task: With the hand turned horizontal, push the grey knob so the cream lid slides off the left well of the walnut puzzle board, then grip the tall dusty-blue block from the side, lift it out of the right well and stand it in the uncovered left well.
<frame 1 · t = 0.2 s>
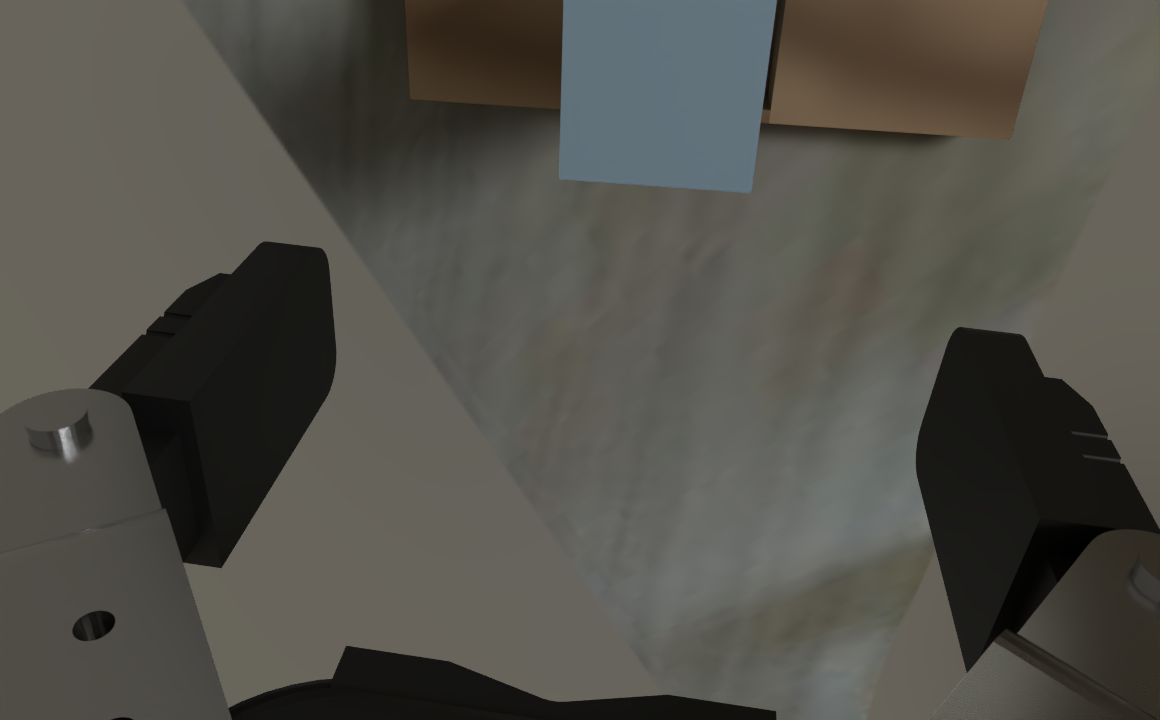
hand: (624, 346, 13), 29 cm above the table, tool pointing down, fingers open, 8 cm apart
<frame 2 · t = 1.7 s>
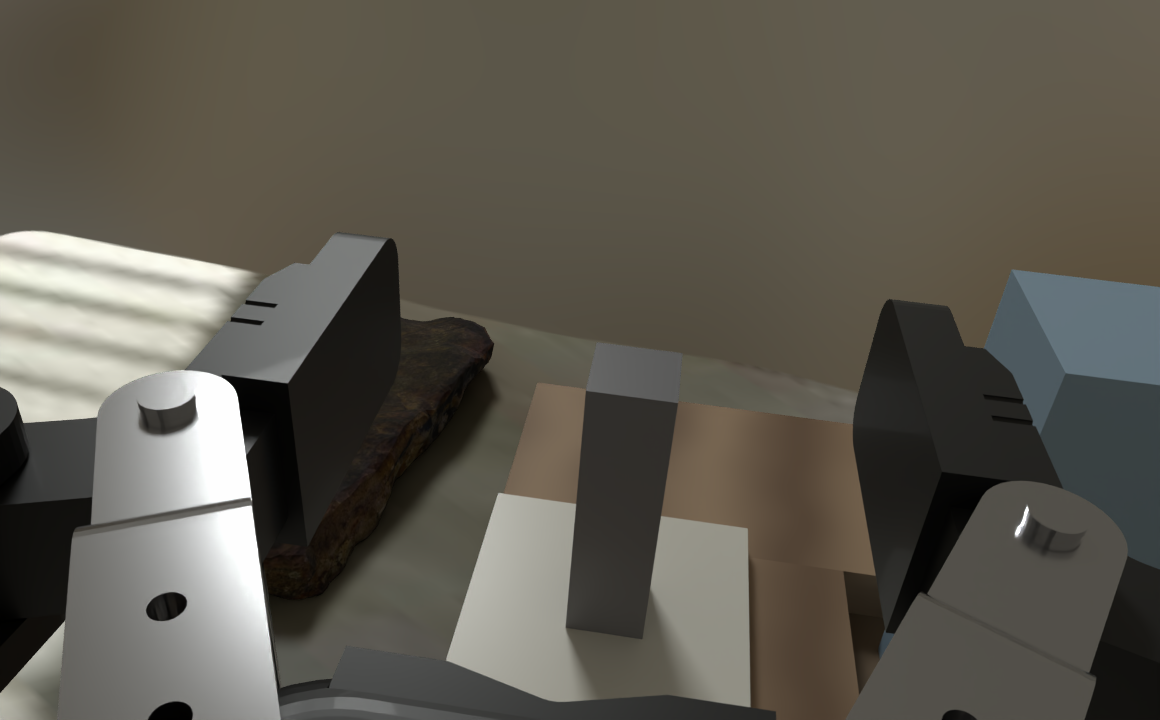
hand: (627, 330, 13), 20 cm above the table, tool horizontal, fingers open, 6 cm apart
lid: (619, 508, 29), point 8 cm above the table, slide at 0.0 cm
board: (776, 665, 34), on the table
stone: (311, 453, 42), on the table
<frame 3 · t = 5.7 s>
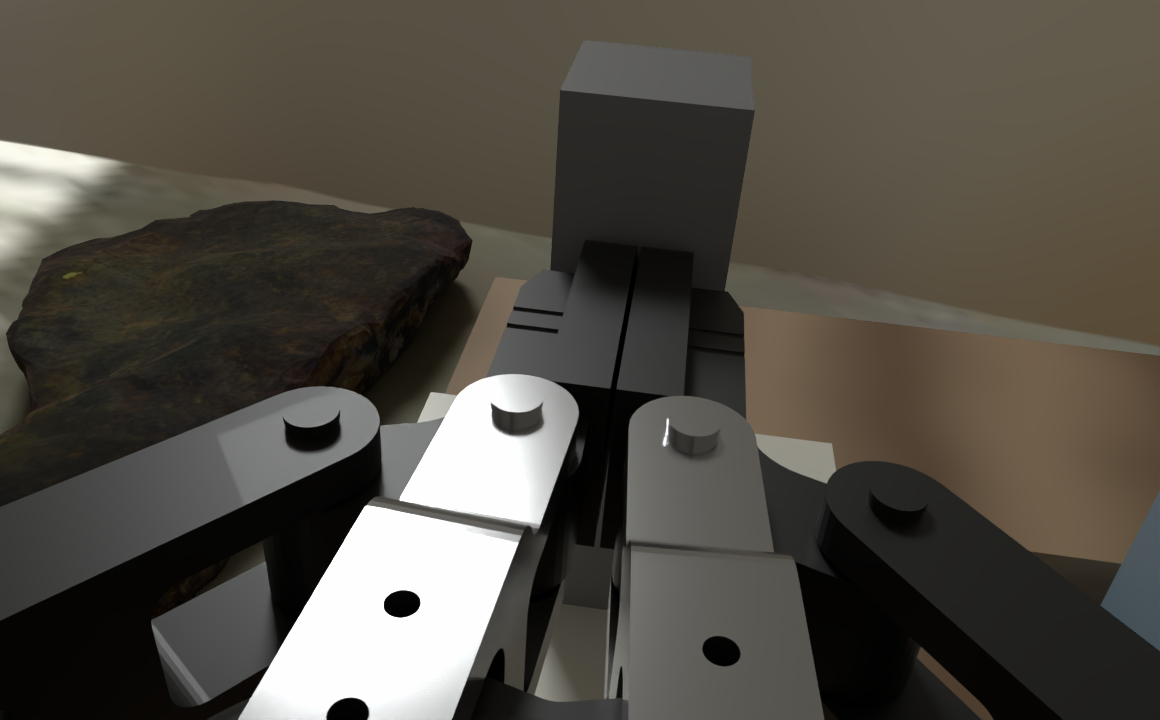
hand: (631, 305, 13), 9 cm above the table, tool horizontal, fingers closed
lid: (628, 376, 16), point 7 cm above the table, slide at 1.2 cm, touching gripper
board: (890, 710, 20), on the table
stone: (196, 395, 28), on the table
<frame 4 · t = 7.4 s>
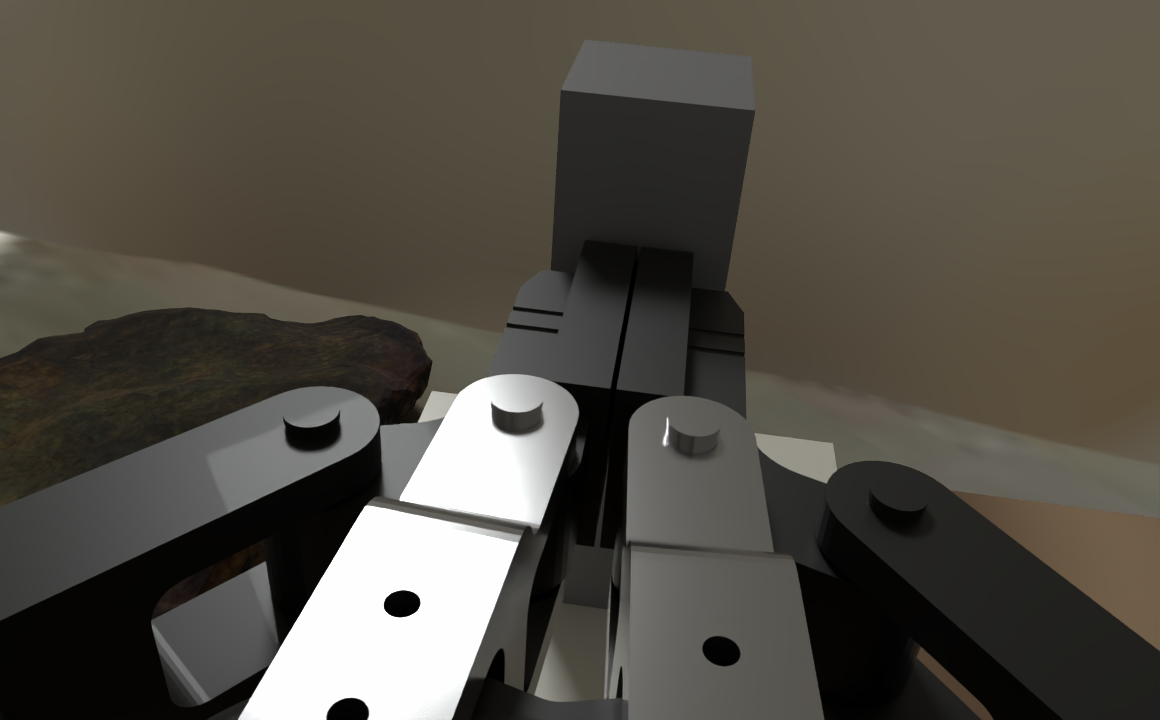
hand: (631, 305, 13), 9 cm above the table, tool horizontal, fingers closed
lid: (628, 375, 16), point 7 cm above the table, slide at 8.5 cm, touching gripper
stone: (70, 583, 22), on the table
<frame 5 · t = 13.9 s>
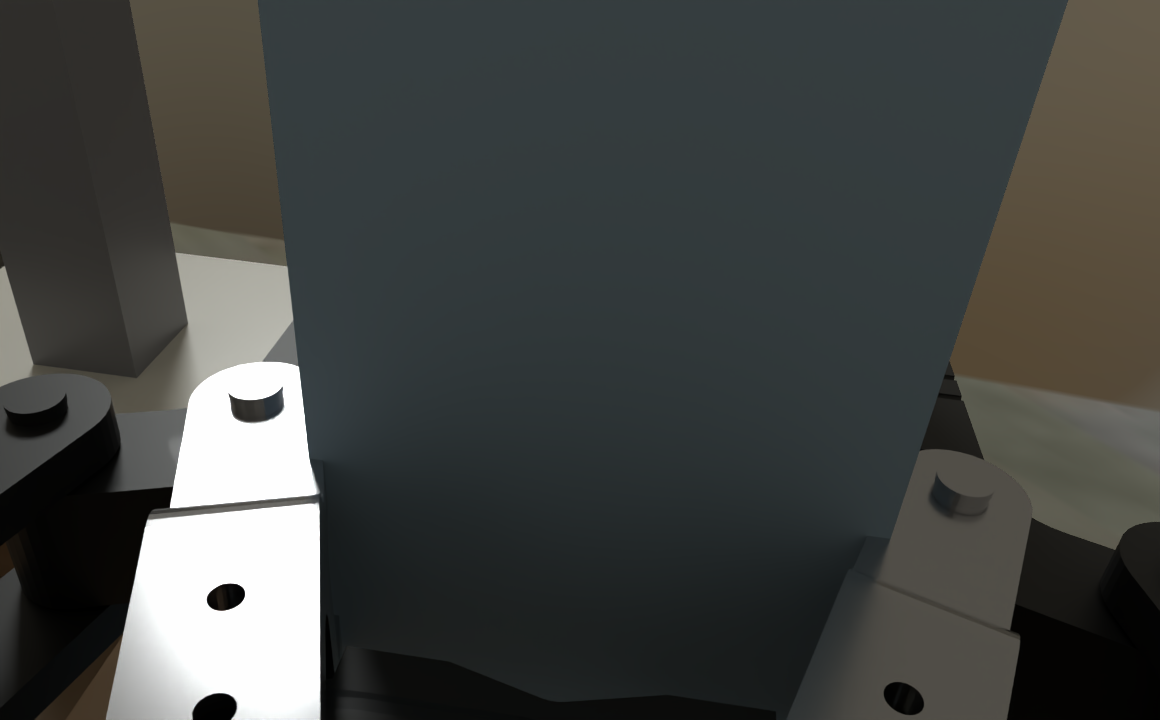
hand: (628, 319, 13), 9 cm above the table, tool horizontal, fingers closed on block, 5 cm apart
lid: (74, 176, 20), point 8 cm above the table, slide at 8.7 cm
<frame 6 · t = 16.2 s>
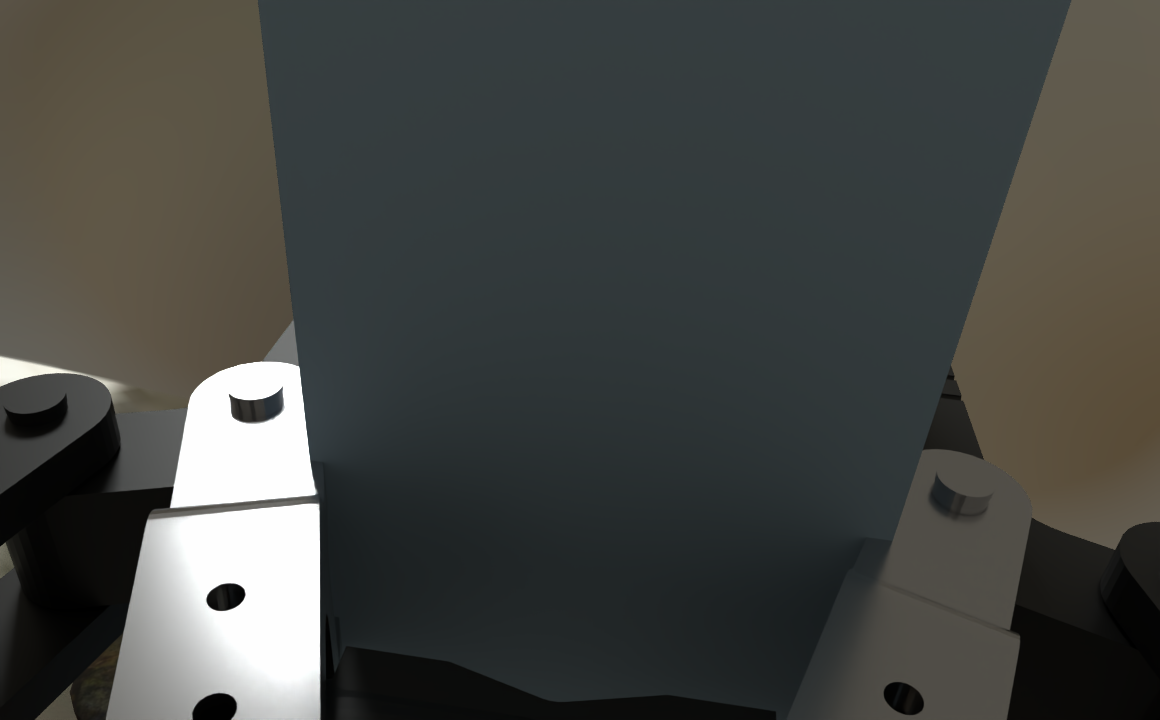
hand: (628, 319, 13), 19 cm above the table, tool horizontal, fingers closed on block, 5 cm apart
stone: (243, 715, 30), on the table
when the fingers open (11 cm above the table, at t = 18.3 s): block drops 1 cm, resting on board.
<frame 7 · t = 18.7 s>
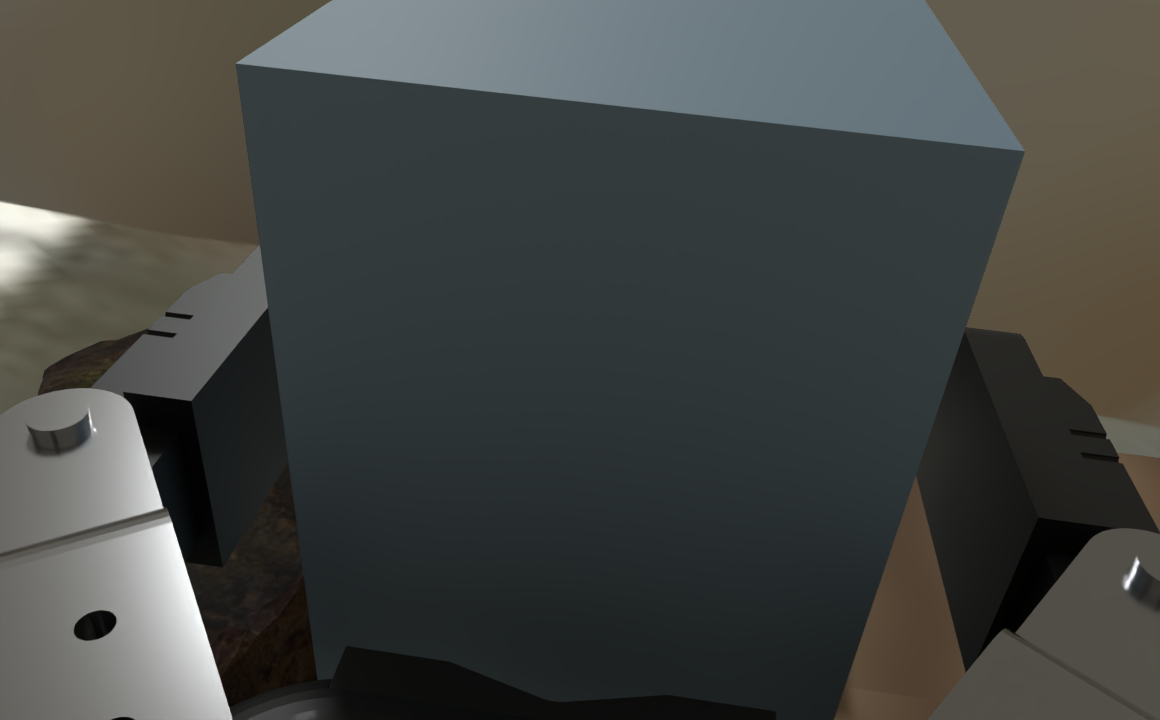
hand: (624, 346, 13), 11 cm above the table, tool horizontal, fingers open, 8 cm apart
stone: (219, 521, 25), on the table
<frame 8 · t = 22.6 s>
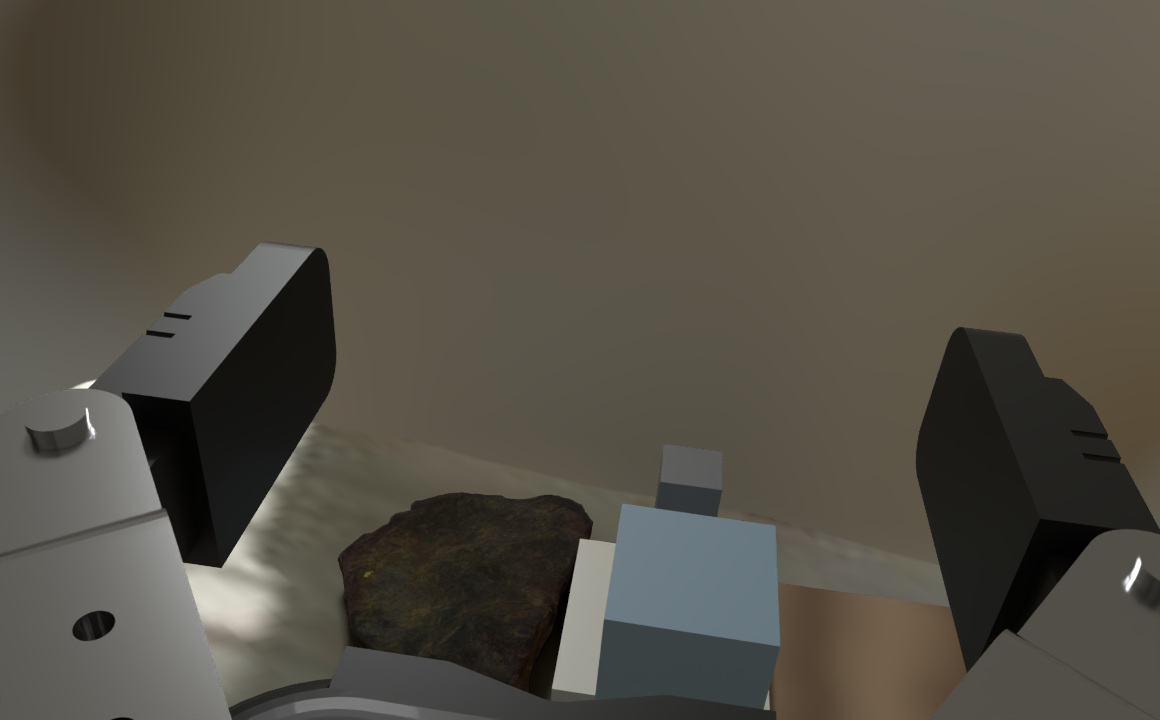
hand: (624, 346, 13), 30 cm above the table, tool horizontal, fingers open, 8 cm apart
lid: (677, 555, 41), point 8 cm above the table, slide at 8.7 cm
stone: (442, 642, 47), on the table
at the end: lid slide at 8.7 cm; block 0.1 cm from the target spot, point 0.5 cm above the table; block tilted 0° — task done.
